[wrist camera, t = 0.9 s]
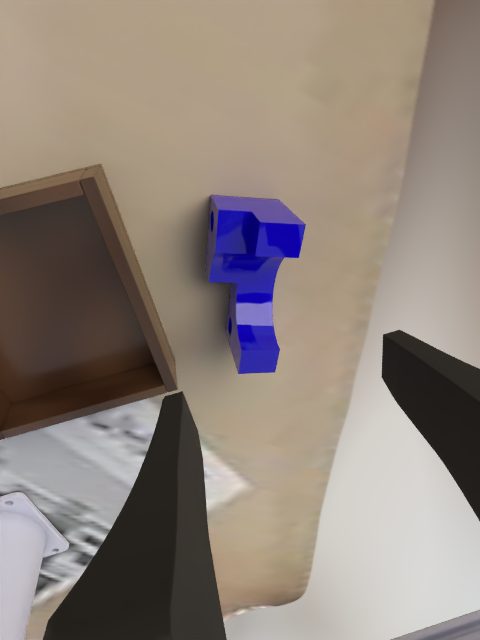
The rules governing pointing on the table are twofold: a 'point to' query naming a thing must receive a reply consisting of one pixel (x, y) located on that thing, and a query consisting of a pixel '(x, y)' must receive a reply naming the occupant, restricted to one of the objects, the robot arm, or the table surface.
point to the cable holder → (250, 271)
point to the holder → (73, 306)
